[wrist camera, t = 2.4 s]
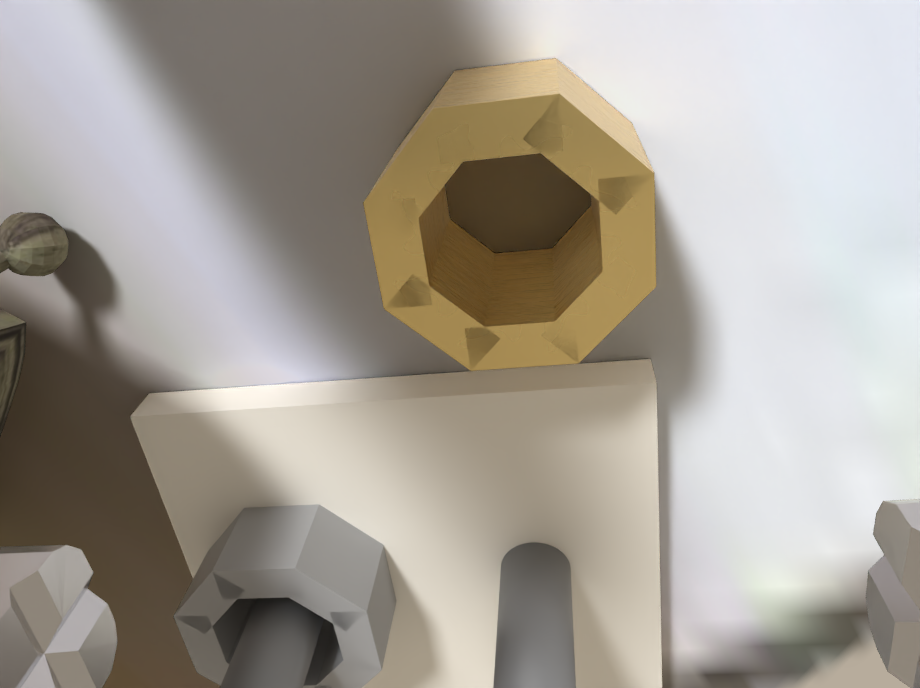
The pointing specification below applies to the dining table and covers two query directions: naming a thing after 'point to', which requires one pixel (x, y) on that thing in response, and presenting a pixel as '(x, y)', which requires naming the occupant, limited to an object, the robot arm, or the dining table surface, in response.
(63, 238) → the tabletop clock
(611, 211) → the brass gear
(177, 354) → the dining table surface
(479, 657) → the gear board
